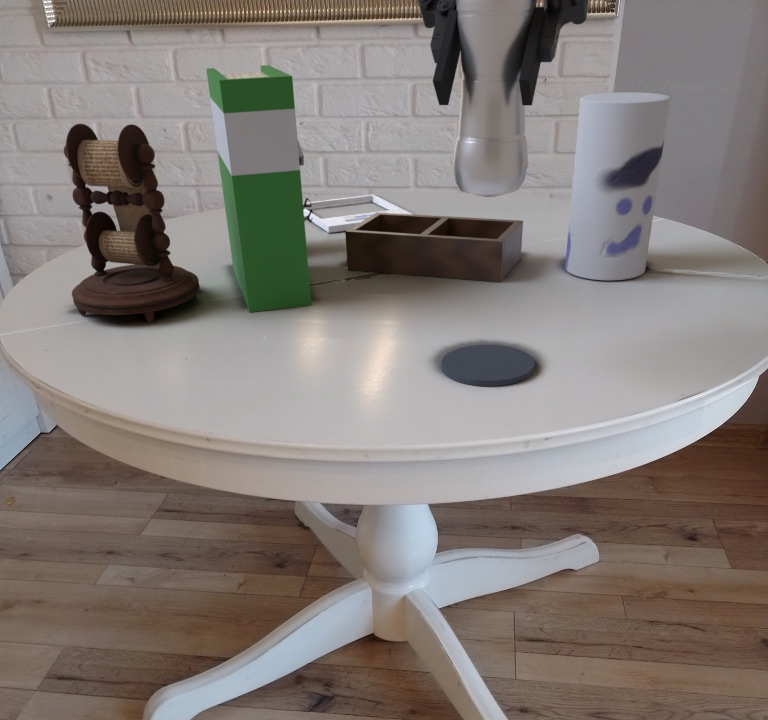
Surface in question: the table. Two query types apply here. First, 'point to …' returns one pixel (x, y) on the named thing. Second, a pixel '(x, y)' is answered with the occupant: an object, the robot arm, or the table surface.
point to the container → (615, 183)
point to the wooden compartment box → (435, 246)
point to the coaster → (488, 365)
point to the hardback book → (262, 185)
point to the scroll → (124, 227)
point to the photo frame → (350, 220)
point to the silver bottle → (492, 96)
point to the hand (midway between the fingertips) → (482, 92)
